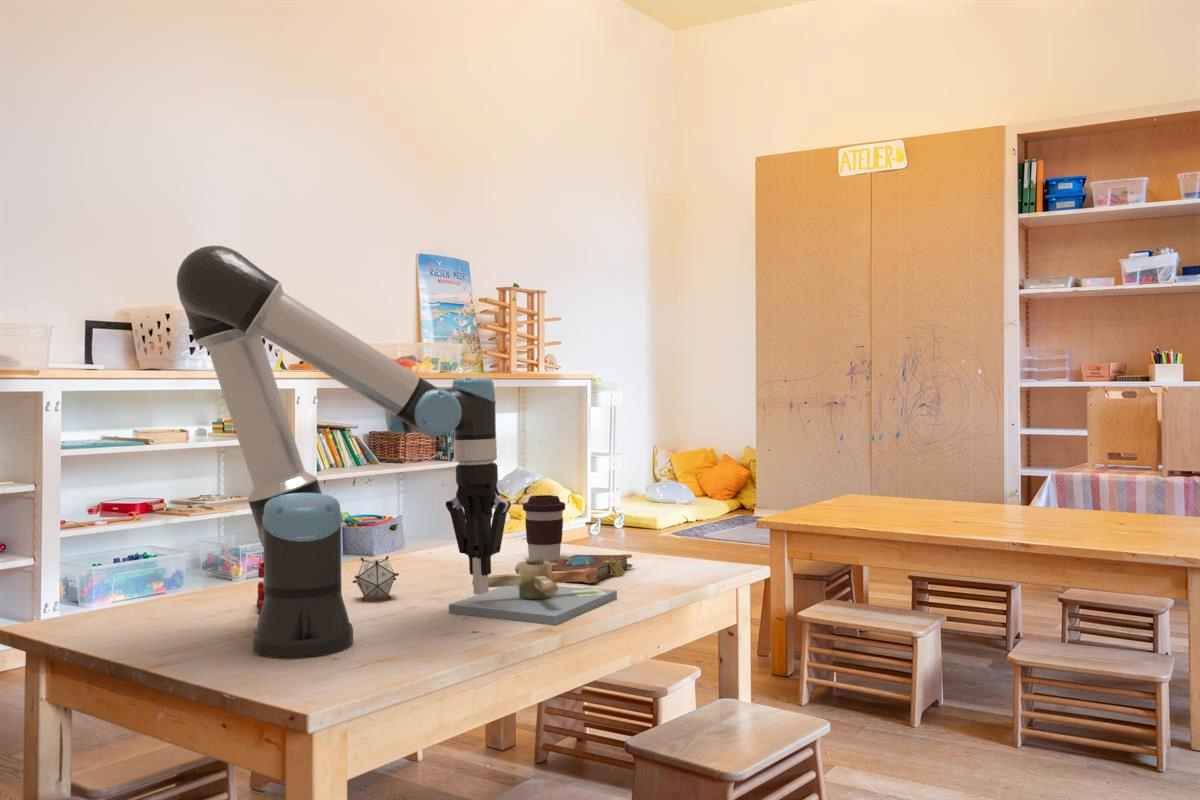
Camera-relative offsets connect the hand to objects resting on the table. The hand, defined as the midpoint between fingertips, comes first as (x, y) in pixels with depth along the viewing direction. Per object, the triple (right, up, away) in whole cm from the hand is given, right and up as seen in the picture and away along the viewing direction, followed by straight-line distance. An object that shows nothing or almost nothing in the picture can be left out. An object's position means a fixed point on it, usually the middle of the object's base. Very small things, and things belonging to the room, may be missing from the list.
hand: (481, 592), depth 179 cm
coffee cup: (+8, -3, +54) cm, 55 cm away
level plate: (+10, -3, +5) cm, 11 cm away
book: (+18, -4, +33) cm, 38 cm away
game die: (-22, -4, +12) cm, 25 cm away
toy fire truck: (-39, -4, +2) cm, 39 cm away
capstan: (+10, -2, +5) cm, 11 cm away
